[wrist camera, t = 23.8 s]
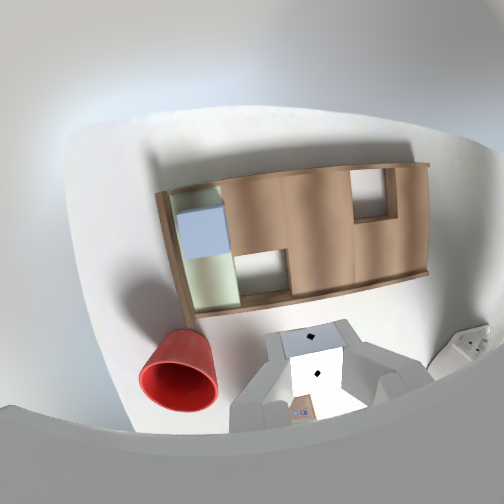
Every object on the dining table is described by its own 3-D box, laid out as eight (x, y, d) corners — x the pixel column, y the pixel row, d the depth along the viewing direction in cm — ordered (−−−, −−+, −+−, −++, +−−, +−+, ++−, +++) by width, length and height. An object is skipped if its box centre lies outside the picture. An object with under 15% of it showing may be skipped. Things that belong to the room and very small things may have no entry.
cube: (224, 202, 32) (222, 207, 28) (231, 243, 33) (230, 253, 29) (183, 209, 32) (176, 215, 28) (191, 249, 33) (185, 259, 29)
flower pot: (216, 377, 43) (212, 419, 34) (154, 364, 42) (140, 403, 32) (226, 328, 40) (223, 370, 31) (156, 314, 39) (137, 351, 30)
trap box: (415, 162, 34) (439, 163, 28) (416, 267, 39) (437, 280, 33) (168, 189, 34) (154, 193, 28) (194, 306, 39) (187, 328, 33)
